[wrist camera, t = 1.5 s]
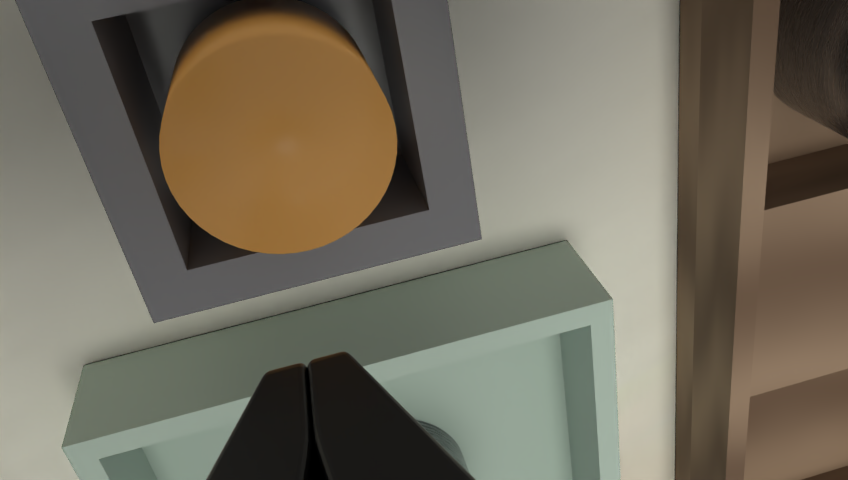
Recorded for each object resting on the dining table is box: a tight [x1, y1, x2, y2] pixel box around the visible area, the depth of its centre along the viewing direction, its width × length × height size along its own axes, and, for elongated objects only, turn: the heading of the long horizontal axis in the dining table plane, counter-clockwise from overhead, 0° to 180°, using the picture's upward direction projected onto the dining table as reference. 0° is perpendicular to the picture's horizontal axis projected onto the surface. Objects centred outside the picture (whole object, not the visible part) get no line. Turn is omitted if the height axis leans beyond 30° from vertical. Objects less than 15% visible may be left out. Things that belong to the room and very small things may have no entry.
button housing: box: [15, 0, 482, 323], centre depth 16 cm, size 7×7×4 cm
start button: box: [159, 0, 397, 254], centre depth 14 cm, size 4×4×3 cm
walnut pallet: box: [675, 0, 848, 480], centre depth 21 cm, size 21×8×3 cm, turn 9°
